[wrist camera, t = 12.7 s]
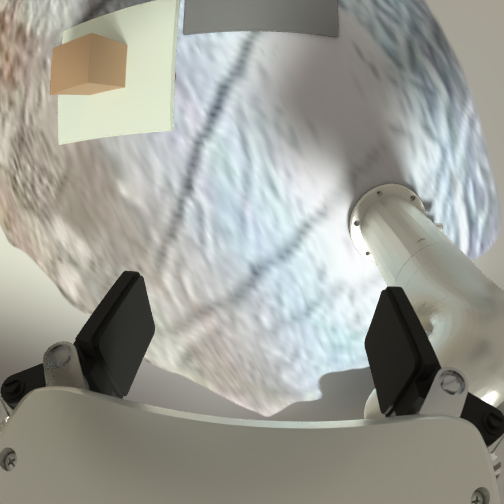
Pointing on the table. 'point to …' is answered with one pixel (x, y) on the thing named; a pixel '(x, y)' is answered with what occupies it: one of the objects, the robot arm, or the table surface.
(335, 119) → the table surface
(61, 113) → the lid
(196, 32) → the mat
